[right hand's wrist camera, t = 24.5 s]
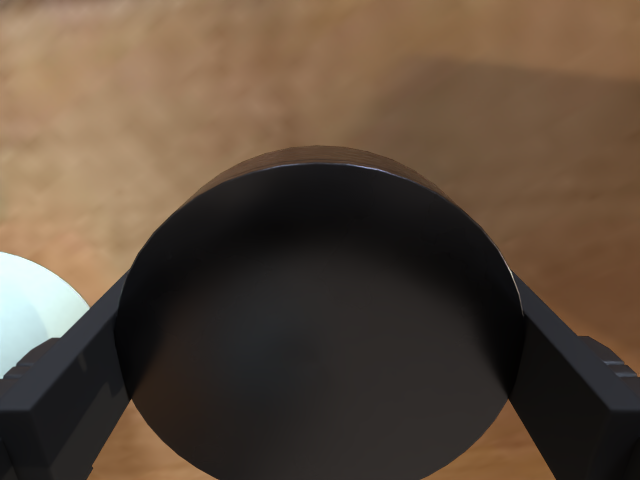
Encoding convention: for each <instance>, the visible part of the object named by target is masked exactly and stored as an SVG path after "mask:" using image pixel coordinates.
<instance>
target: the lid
mask: <svg viewBox="0 0 640 480" xmlns="http://www.w3.org/2000/svg"><path fill="white" fill-rule="evenodd" d="M115 343H116V350H117V355H118V360H119V364H120V369H121V373H122V376H123V380H124V383H125V386H126V388H127V390H128V392H129V394H130V396H131V398H132V400H133V402H134V404H135V406H136V408H137V409H138V411H139V412H140V414H141V415H142V417H143V418H144V420H145V421H146V422H147V424H148V425H149V426H150V427H151V429H152V430H153V431H154V432H155V433H156V434H157V435H158V436H159V438H160V439H161V440H162V441H163V442H164V443H165V444H167V445H168V446H169V447H170V448H171V449H172V450H173V451H174V452H176V453H177V454H178V455H179V456H181V457H182V458H183V459H185V460H186V461H188V462H189V463H191V464H192V465H193V466H195V467H196V468H198V469H200V470H202V471H203V472H205V473H207V474H209V475H211V476H212V477H214V478H216V479H219V480H420V479H423V478H425V477H427V476H429V475H431V474H432V473H434V472H436V471H438V470H439V469H441V468H443V467H444V466H446V465H448V464H449V463H450V462H452V461H453V460H454V459H456V458H457V457H458V456H460V455H461V454H463V453H464V452H465V451H466V450H467V449H468V448H469V447H471V446H472V445H473V444H474V443H475V442H476V441H477V440H478V439H479V438H480V437H481V436H482V435H483V434H484V432H485V431H486V430H487V429H488V428H489V427H490V425H491V424H492V423H493V422H494V421H495V419H496V418H497V416H498V414H499V413H500V411H501V410H502V408H503V407H504V405H505V403H506V402H507V400H508V397H509V395H510V393H511V391H512V389H513V386H514V384H515V382H516V378H517V374H518V370H519V366H520V362H521V357H522V352H523V346H524V315H523V310H522V304H521V299H520V294H519V291H518V288H517V285H516V283H515V280H514V277H513V275H512V272H511V270H510V268H509V266H508V264H507V263H506V261H505V259H504V257H503V256H502V254H501V252H500V250H499V249H498V247H497V246H496V245H495V243H494V242H493V241H492V240H491V238H490V237H489V236H488V235H487V233H486V232H485V231H484V230H483V228H482V227H481V226H480V225H478V224H477V223H476V222H475V221H474V220H473V219H472V218H471V217H470V216H469V215H468V214H466V213H465V212H464V211H463V210H462V209H461V208H460V207H459V206H458V205H457V204H456V203H454V202H453V201H452V200H451V199H450V198H449V197H448V196H447V195H446V194H445V193H443V192H442V191H441V190H440V189H439V188H438V187H437V186H436V185H435V184H433V183H432V182H430V181H429V180H427V179H426V178H425V177H423V176H422V175H420V174H419V173H417V172H416V171H414V170H412V169H410V168H408V167H406V166H404V165H402V164H400V163H398V162H396V161H394V160H392V159H389V158H386V157H383V156H380V155H377V154H374V153H371V152H368V151H362V150H357V149H351V148H346V147H336V146H305V147H293V148H287V149H283V150H278V151H274V152H269V153H265V154H262V155H260V156H257V157H254V158H251V159H249V160H246V161H243V162H241V163H239V164H237V165H235V166H234V167H232V168H230V169H228V170H226V171H224V172H222V173H220V174H219V175H218V176H216V177H215V178H214V179H212V180H211V181H210V182H208V183H207V184H205V185H204V186H203V187H201V188H200V189H199V190H198V191H197V192H196V193H195V194H194V195H193V196H191V197H190V198H189V199H188V200H187V201H186V202H185V203H184V204H183V205H182V206H180V207H179V208H178V209H177V210H176V211H175V212H174V213H173V214H172V215H171V216H170V217H169V218H168V219H167V220H166V221H165V222H164V223H163V224H162V225H161V226H160V227H159V228H158V229H157V230H156V231H155V232H154V233H153V234H152V235H151V237H150V238H149V239H148V241H147V242H146V243H145V245H144V246H143V247H142V249H141V250H140V251H139V253H138V254H137V256H136V258H135V260H134V262H133V264H132V266H131V268H130V270H129V272H128V274H127V276H126V279H125V282H124V285H123V288H122V291H121V294H120V297H119V301H118V308H117V314H116V321H115Z"/></svg>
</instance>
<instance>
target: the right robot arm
mask: <svg viewBox="0 0 640 480" xmlns="http://www.w3.org/2000/svg"><path fill="white" fill-rule="evenodd" d="M129 270H130V269H129ZM129 270H128V271H127V272H126V273H125V274H124V275H123V276H122V277H121V278H120V279H119V280H118V281H117V282H116V283H115V284H114V285H113V286H112V287H111V288H110V289H109V290H108V291H107V292H106V293H105V294H104V295H103V296H102V297H101V298H100V299H99V300H98V301H97V302H96V303H95V304H94V305H93V306H92V307H91V308H90V309H89V310H88V311H87V312H86V313H85V314H84V315H83V316H82V317H81V318H80V319H79V320H78V321H77V322H76V323H75V324H74V325H73V326H72V327H71V328H70V329H69V330H68V331H67V332H66V333H65V334H64V335H63V336H62V337H61V338H50V339H48V340H47V341H45V342H43V343H42V344H40V345H38V346H36V347H35V348H33V349H31V350H30V351H29V352H28V353H27V354H26V355H25V356H24V357H23V358H22V359H21V360H19V361H18V362H17V363H16V366H15V367H12V368H11V369H10V370H9V371H8V372H7V373H6V374H5V375H3V379H0V480H84V478H85V476H86V475H87V473H88V471H89V469H90V468H91V466H92V464H93V463H94V461H95V459H96V458H97V456H98V454H99V453H100V451H101V449H102V447H103V446H104V444H105V442H106V441H107V439H108V437H109V436H110V434H111V432H112V431H113V429H114V427H115V425H116V424H117V422H118V420H119V419H120V417H121V415H122V414H123V412H124V410H125V409H126V407H127V405H128V403H129V402H130V400H131V396H130V394H129V392H128V390H127V388H126V386H125V383H124V380H123V376H122V373H121V369H120V364H119V360H118V355H117V350H116V343H115V321H116V314H117V308H118V301H119V297H120V294H121V291H122V288H123V285H124V282H125V279H126V276H127V274H128V272H129ZM510 270H511V269H510ZM511 272H512V275H513V277H514V280H515V283H516V285H517V288H518V291H519V294H520V299H521V304H522V310H523V315H524V346H523V352H522V357H521V362H520V366H519V370H518V374H517V378H516V382H515V384H514V386H513V389H512V391H511V393H510V395H509V397H508V399H509V401H510V402H511V404H512V406H513V407H514V409H515V411H516V412H517V414H518V416H519V417H520V419H521V421H522V423H523V424H524V426H525V428H526V429H527V431H528V433H529V434H530V436H531V438H532V439H533V441H534V443H535V445H536V446H537V448H538V450H539V451H540V453H541V455H542V456H543V458H544V460H545V461H546V463H547V465H548V467H549V468H550V470H551V472H552V473H553V475H554V477H555V478H556V480H640V377H637V374H636V373H635V372H634V371H633V370H632V369H631V368H630V367H629V366H628V365H624V362H623V361H622V360H621V359H620V358H619V357H618V356H617V355H616V354H615V353H614V352H612V351H611V350H610V349H609V348H608V347H606V346H604V345H603V344H601V343H599V342H597V341H596V340H594V339H592V338H591V337H589V336H577V335H576V334H575V333H574V332H573V331H572V330H571V329H570V328H569V327H568V326H567V325H566V324H565V323H564V322H563V321H562V320H561V319H560V318H559V317H558V316H557V315H556V314H555V313H554V312H553V311H552V310H551V309H550V308H549V307H548V306H547V305H546V304H545V303H544V302H543V301H542V300H541V299H540V298H539V297H538V296H537V295H536V294H535V293H534V292H533V291H532V290H531V289H530V288H529V287H528V286H527V285H526V284H525V283H524V282H523V281H522V280H521V279H520V278H519V277H518V276H517V275H516V274H515V273H514V272H513V271H512V270H511Z"/></svg>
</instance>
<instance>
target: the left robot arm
mask: <svg viewBox="0 0 640 480" xmlns="http://www.w3.org/2000/svg"><path fill="white" fill-rule="evenodd" d="M92 469H93V467H92V466H91V468H90V469H89V471H88V473H87V475H86V476H85V478H84V480H86V479H87V478H88V476H89V474H90V473H91V471H92Z"/></svg>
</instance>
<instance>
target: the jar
mask: <svg viewBox="0 0 640 480" xmlns="http://www.w3.org/2000/svg"><path fill="white" fill-rule="evenodd" d="M89 309H90V307H89V306H88V304H87V303H86V302H85V301H84V300H83V298H82V297H81V296H80V295H79V294H78V293H77V292H76V291H75V290H74V289H73V288H72V287H71V286H70V285H69V284H68V283H66V282H65V281H64V280H62V279H61V278H60V277H58V276H57V275H55V274H54V273H52V272H51V271H49V270H47V269H46V268H44V267H42V266H40V265H38V264H36V263H34V262H32V261H29V260H27V259H24V258H21V257H19V256H15V255H11V254H7V253H3V252H0V379H3V375H5V374H6V373H7V372H8V371H9V370H10V369H11V368H12V367H15V366H16V363H17V362H18V361H19V360H21V359H22V358H23V357H24V356H25V355H26V354H27V353H28V352H29V351H30V350H31V349H33V348H35V347H36V346H38V345H40V344H42V343H43V342H45V341H47V340H48V339H50V338H61V337H62V336H63V335H64V334H65V333H66V332H67V331H68V330H69V329H70V328H71V327H72V326H73V325H74V324H75V323H76V322H77V321H78V320H79V319H80V318H81V317H82V316H83V315H84V314H85V313H86V312H87V311H88V310H89Z"/></svg>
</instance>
